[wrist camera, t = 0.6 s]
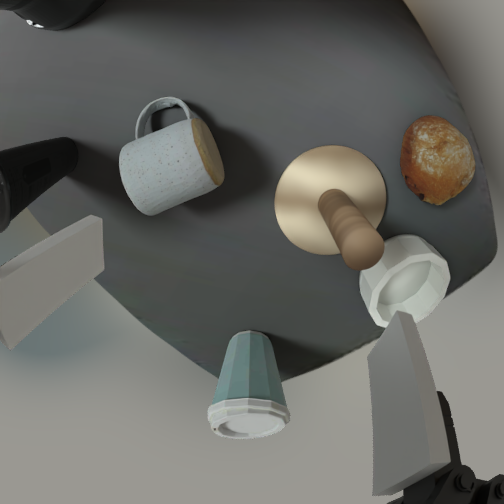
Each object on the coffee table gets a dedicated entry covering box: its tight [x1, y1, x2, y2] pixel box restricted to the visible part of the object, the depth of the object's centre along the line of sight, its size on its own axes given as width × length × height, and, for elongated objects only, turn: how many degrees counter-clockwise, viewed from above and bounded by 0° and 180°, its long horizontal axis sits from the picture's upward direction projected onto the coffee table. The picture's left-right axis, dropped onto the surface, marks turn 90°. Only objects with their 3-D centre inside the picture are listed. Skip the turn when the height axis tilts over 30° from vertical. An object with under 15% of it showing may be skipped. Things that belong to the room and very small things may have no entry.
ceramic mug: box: [119, 97, 224, 215], centre depth 24 cm, size 11×8×8 cm
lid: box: [275, 145, 386, 270], centre depth 26 cm, size 13×13×11 cm
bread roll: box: [400, 115, 475, 205], centre depth 25 cm, size 10×10×8 cm
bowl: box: [359, 234, 450, 328], centre depth 33 cm, size 12×12×5 cm
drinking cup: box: [0, 137, 78, 233], centre depth 18 cm, size 8×8×20 cm
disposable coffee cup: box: [207, 330, 290, 439], centre depth 36 cm, size 11×11×15 cm
